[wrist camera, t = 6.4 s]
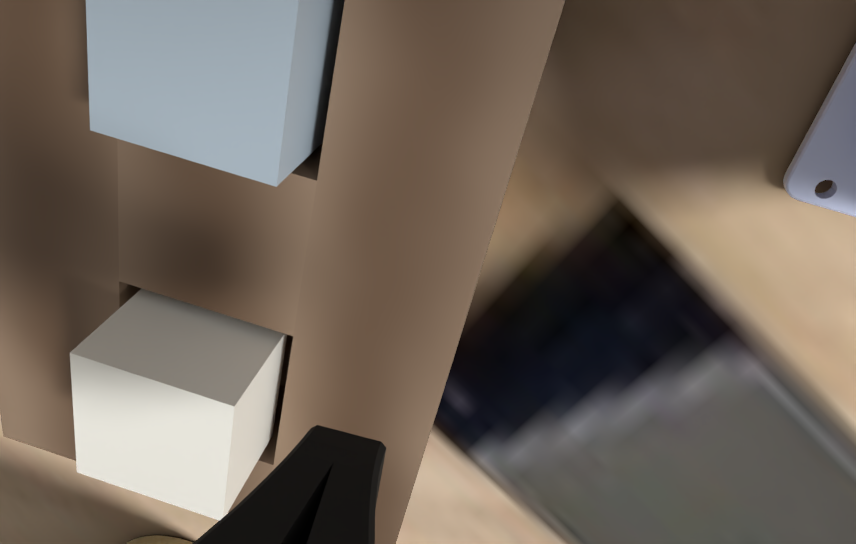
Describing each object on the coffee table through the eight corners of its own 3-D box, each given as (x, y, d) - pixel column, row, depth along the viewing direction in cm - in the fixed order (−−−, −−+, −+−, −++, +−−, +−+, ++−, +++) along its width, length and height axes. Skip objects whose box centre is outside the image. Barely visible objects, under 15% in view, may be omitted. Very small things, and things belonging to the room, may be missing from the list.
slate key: (357, -43, 16) (301, -26, 13) (328, 136, 18) (276, 187, 15) (177, -93, 16) (82, -87, 13) (172, 90, 18) (89, 130, 15)
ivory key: (287, 328, 20) (234, 406, 17) (271, 436, 22) (222, 521, 19) (146, 283, 20) (69, 352, 17) (145, 394, 23) (76, 472, 20)
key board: (836, -874, 11) (967, -1285, 7) (417, 468, 27) (388, 566, 23) (21, -1028, 12) (-255, -1467, 8) (85, 360, 28) (3, 436, 24)
